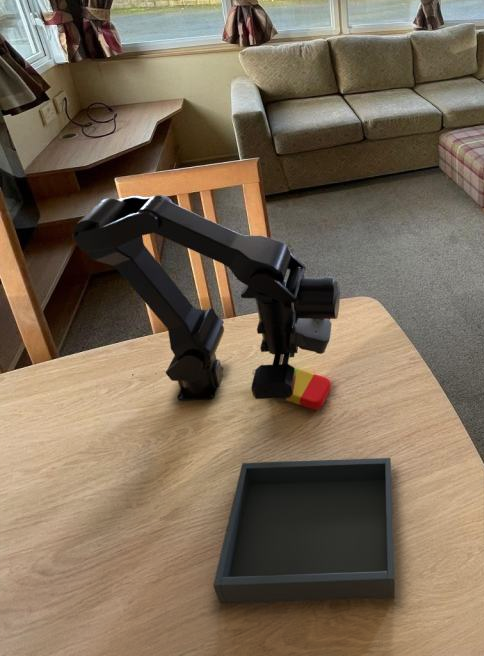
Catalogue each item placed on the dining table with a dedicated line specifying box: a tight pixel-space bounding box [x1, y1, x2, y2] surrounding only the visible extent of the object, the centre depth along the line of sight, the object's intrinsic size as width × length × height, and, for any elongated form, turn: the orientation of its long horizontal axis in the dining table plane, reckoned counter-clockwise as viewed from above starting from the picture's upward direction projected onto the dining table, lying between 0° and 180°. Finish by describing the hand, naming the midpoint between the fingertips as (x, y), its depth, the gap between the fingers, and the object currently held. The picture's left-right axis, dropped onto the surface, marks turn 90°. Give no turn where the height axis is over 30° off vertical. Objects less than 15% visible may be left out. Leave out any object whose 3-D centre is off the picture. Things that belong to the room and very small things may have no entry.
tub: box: [213, 457, 396, 605], centre depth 65 cm, size 22×14×5 cm, turn 91°
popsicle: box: [251, 367, 332, 410], centre depth 86 cm, size 6×15×2 cm, turn 70°
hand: (287, 378), depth 86 cm, fingers open, 9 cm apart
